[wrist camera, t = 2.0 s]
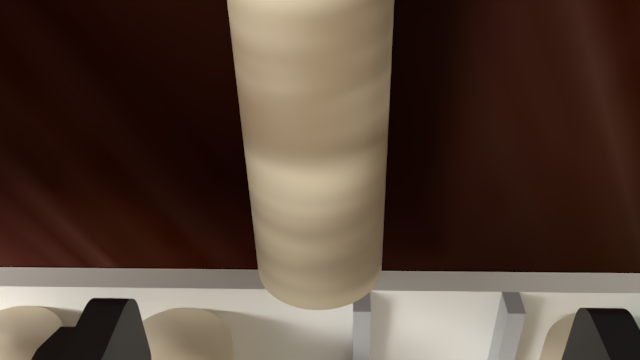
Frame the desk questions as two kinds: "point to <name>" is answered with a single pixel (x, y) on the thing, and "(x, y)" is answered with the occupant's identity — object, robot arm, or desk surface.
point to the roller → (315, 142)
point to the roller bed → (318, 313)
